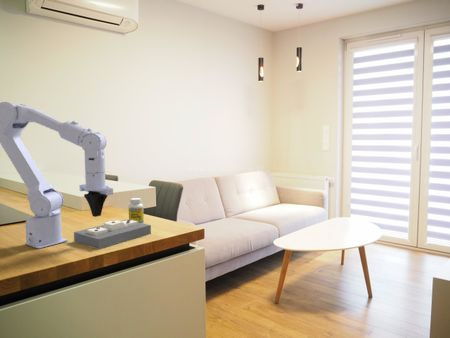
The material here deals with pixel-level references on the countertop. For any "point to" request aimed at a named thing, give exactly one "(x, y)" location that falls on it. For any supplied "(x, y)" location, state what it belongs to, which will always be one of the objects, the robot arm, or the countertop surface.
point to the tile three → (129, 223)
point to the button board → (111, 236)
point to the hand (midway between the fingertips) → (96, 215)
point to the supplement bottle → (136, 210)
